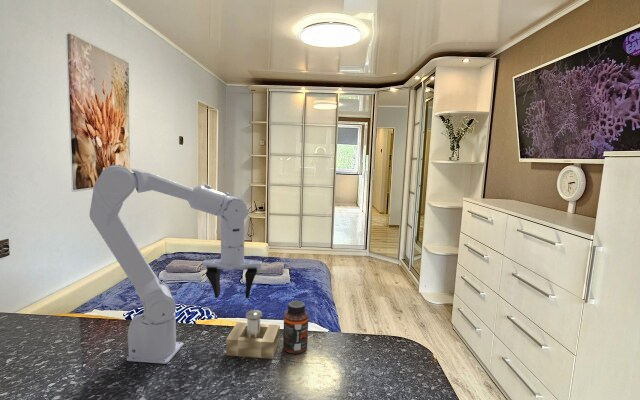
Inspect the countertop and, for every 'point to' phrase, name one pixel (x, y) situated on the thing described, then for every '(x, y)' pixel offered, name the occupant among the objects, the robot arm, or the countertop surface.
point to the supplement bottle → (295, 328)
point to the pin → (253, 323)
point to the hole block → (253, 341)
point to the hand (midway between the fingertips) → (232, 296)
